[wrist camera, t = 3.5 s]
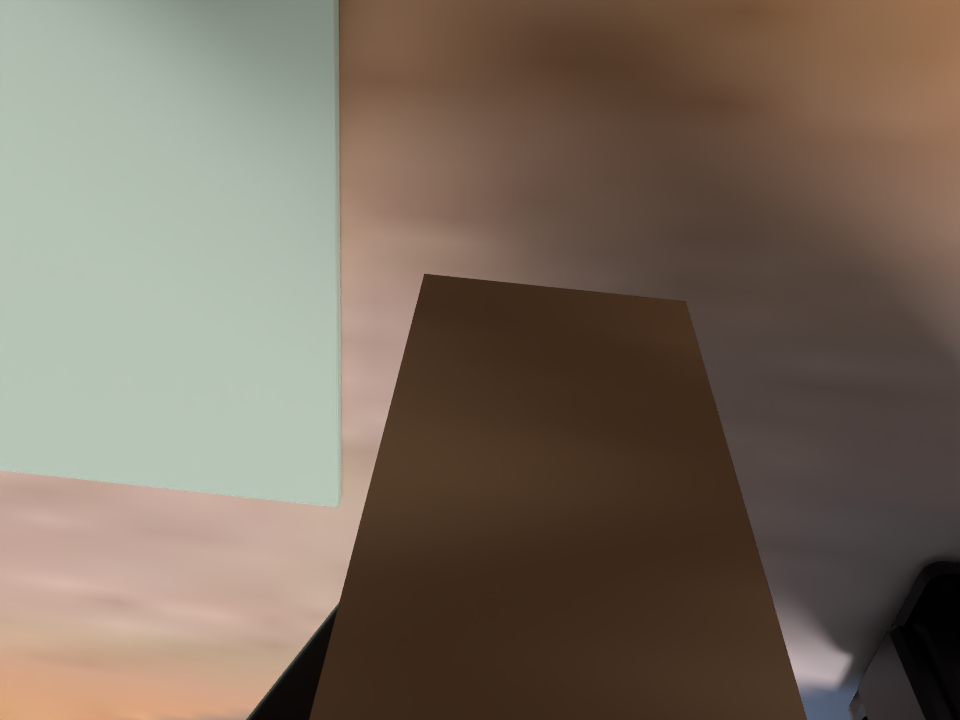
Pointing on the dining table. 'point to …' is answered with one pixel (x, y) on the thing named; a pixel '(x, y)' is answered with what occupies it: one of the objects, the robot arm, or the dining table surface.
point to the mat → (172, 244)
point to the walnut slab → (554, 526)
